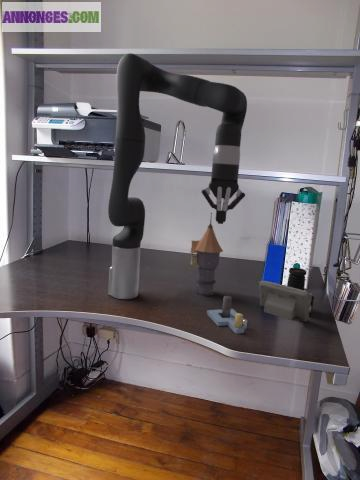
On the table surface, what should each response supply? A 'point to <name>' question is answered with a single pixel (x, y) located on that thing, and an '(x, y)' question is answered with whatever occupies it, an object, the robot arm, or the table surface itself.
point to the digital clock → (284, 301)
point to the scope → (299, 283)
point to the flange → (228, 320)
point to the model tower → (206, 260)
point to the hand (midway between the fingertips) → (220, 223)
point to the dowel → (244, 323)
